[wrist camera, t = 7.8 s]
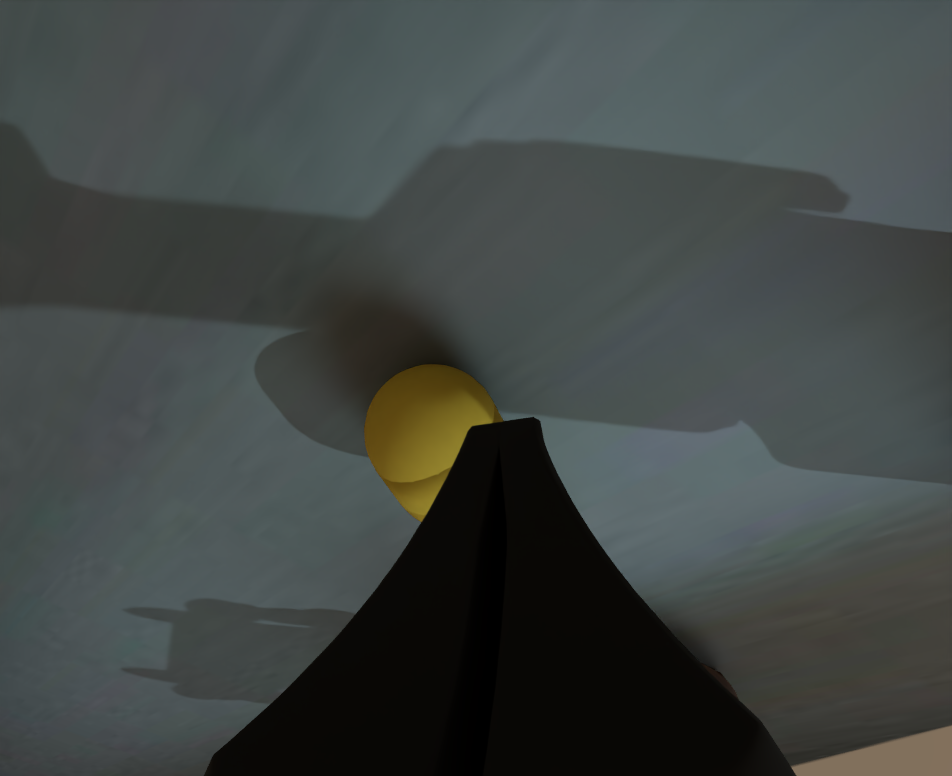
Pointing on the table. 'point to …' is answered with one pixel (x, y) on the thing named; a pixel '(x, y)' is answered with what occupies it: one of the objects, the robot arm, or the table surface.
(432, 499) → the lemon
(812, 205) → the table surface
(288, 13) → the table surface
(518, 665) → the robot arm
